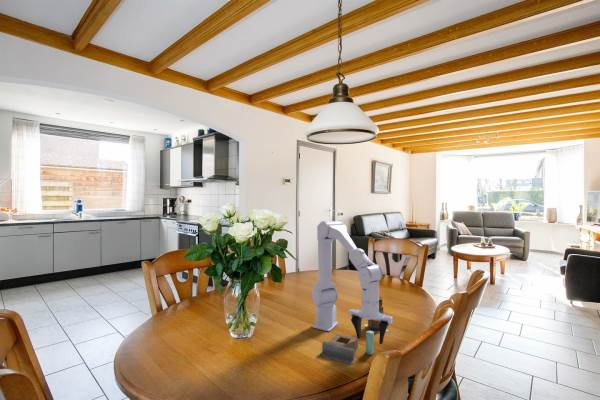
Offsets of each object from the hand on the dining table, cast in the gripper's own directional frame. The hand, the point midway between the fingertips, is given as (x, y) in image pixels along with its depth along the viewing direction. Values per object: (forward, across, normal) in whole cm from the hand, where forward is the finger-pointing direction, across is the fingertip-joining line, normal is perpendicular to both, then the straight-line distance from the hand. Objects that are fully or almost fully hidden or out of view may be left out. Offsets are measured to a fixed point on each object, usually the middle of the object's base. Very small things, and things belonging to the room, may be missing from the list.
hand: (370, 340), depth 105 cm
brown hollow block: (+4, -9, -3) cm, 10 cm away
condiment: (+4, -4, +21) cm, 22 cm away
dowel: (+4, 0, 0) cm, 4 cm away
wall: (+4, -9, -8) cm, 12 cm away
